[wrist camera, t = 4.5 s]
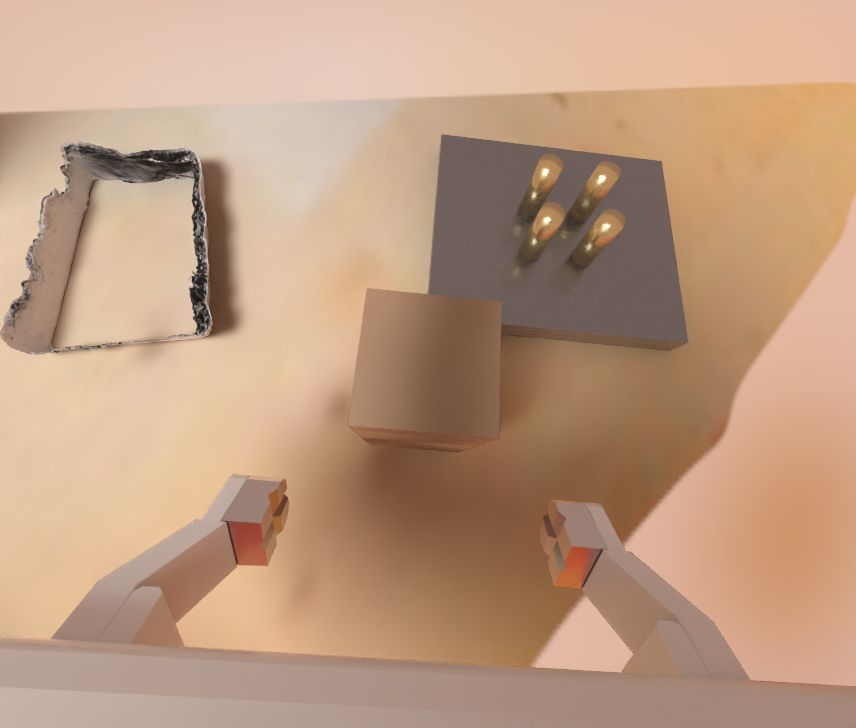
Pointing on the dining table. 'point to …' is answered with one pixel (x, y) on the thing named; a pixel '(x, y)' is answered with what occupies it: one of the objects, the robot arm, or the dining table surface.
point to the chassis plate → (558, 242)
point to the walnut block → (427, 371)
